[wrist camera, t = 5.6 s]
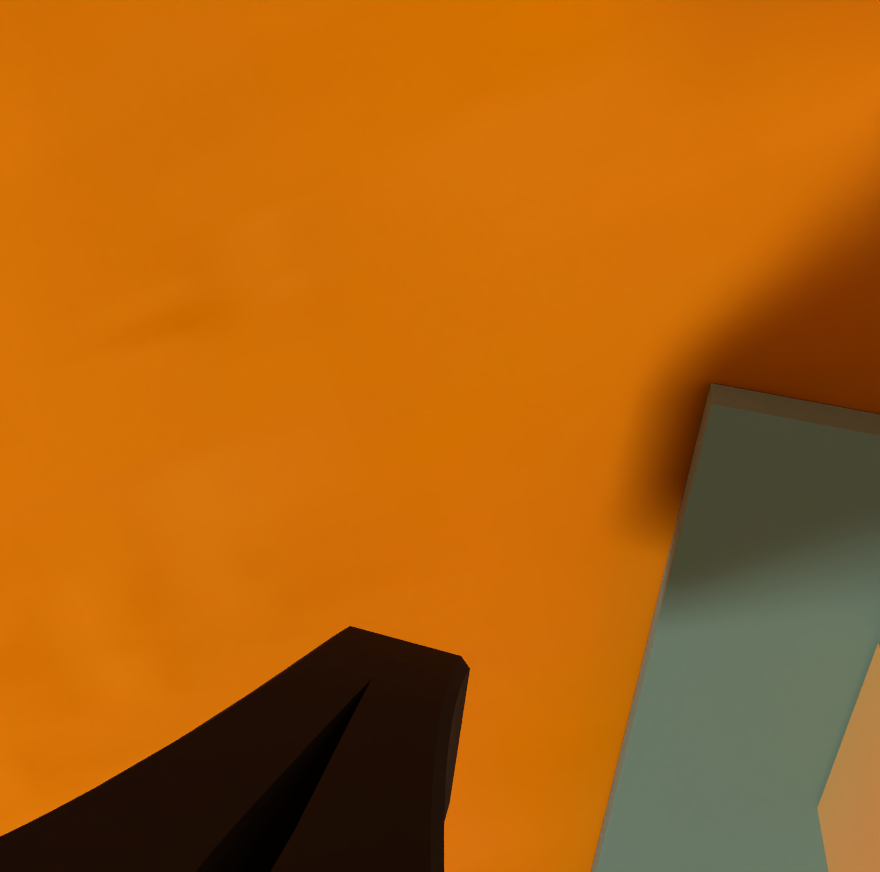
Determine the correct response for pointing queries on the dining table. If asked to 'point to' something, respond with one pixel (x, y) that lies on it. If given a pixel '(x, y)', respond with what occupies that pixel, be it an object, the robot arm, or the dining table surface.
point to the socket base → (752, 643)
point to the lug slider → (855, 786)
